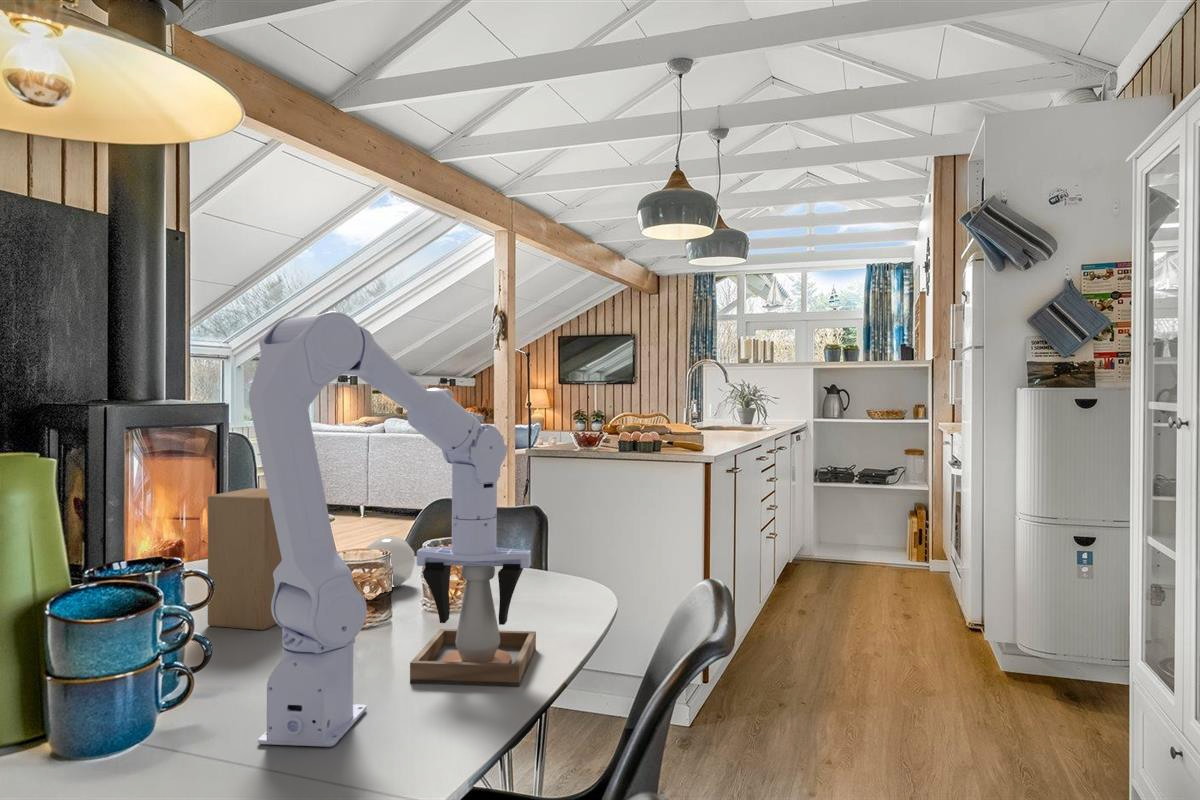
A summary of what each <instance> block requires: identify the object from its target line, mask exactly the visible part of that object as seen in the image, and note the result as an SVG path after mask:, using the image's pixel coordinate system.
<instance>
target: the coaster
mask: <svg viewBox="0 0 1200 800" xmlns="http://www.w3.org/2000/svg"><path fill="white" fill-rule="evenodd" d="M442 661H443V662H464V661H463V660H462V659H461V657H460V654H459V652H458V651H455V652H452V653H450V654H448V655H446V656H445V657H444V658H443V659H442ZM488 663H509V664H510V663H511V656H510V654H508V653H507V652H505V651H502V650H499V649H497V651H496V653H495V656H494V658H493V661H491V662H488Z"/></svg>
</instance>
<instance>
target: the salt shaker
mask: <svg viewBox="0 0 1200 800" xmlns="http://www.w3.org/2000/svg"><path fill="white" fill-rule="evenodd" d="M461 566H462V565H461ZM495 575H496V566H462V567H461V577H462V579H463V580H465V581H466V582H465V584H464V586H465V587H464V591H463V597H462V603H461V607H460V614H459V619H458V623H457V635H456V640H455V643H456V647H457V650H458V652H459V654H460V657H461V659H462V660H463V661H464V662H476V663H488V662H491V661H493V658H494V656H495V653H496V651H497V648H498V646H499V644H500V635H499V631H500V629H499V623H498V620H497V619H498V618H497V614H496V609H495V604H494V598H493V593H492V587H491V583H490V582H491V581H490V580H492V579H494V577H495Z"/></svg>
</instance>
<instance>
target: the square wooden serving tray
mask: <svg viewBox="0 0 1200 800" xmlns="http://www.w3.org/2000/svg"><path fill="white" fill-rule="evenodd" d="M457 629H458V628H457ZM457 629H452V628H439V630H438V631H437V632H436V633H435V634H434V635H433V636H432V638H431V639H430V640H429V641H428V642H427V643H426V644H425V646H424V647H422V649H421V650H420V651H419V652H418V653H417V654H416V656H415V657H414V658H413V659H412V660H411V661H410V662H409V683H410V684H423V685H424V684H430V685H434V684H435V685H460V686H462V685H463V686H487V687H488V686H492V687H517V688H518V687H520V686H521V684H522V681H523V679H524V676H525V674H526V672H527V670H528V667H529V665H530V663H531V660H532V659H533V656H534V654H535V652H536V650H537V646H536V645H537V631H534V630H533V631H531V630H530V631H528V630H527V631H526V630H525V631H524V630H499V635H500V644H499V646H498V648H497V649H499V650H502V651H505V652H507V653H508V654H510V656H511V663H510V664H509V663H476V662H443V661H442V659H443V658H444V657H445V656H446V655H448V654H450V653H452V652H455V651H458V650H457V647H456V643H455V640H456V635H457Z"/></svg>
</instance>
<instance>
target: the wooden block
mask: <svg viewBox="0 0 1200 800" xmlns="http://www.w3.org/2000/svg"><path fill="white" fill-rule="evenodd" d="M281 561H282V557H281V553H280V548H279V543H278V538H277V533H276V529H275V524H274V519H273V514H272V510H271V505H270V500H269V495H268V490H267V488H255V487H249V488H243V489H239V490H238V489H237V490H232V491H228V492H222V493H215V494H210V495H209V496H208V497H207V576H208V575H209V576H210V577H211V578H212V579H213V580H214V583H215V592H214V596H213V598H212V600H211V601H210V603H209V604H208V603H207V626H208V627H209V626H210V627H218V628H219V627H220V628H231V629H232V628H233V629H242V630H243V629H245V630H246V629H247V630H255V631H256V630H257V631H265V630H268V629H269V628H272V627H273V626H276V625H278V624H277V623H276V621H275V620H274V618H273V615H272V611H271V603H272V598H273V594H274V589H275V583H274V577H273V572H274V570H275V569H276V568H277V566H278V565H279V564H280V563H281ZM208 594H209V586H208V585H207V595H208Z"/></svg>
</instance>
